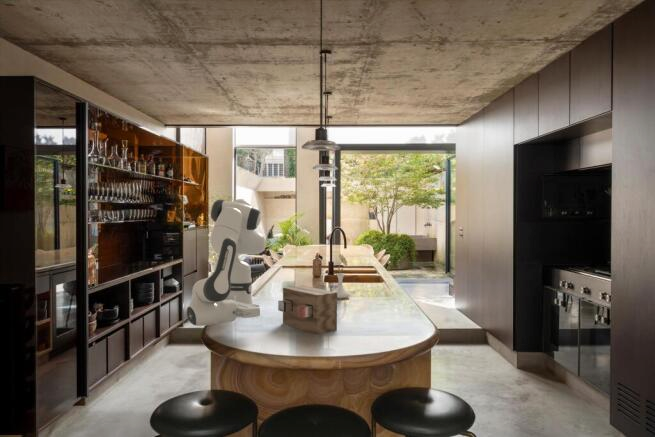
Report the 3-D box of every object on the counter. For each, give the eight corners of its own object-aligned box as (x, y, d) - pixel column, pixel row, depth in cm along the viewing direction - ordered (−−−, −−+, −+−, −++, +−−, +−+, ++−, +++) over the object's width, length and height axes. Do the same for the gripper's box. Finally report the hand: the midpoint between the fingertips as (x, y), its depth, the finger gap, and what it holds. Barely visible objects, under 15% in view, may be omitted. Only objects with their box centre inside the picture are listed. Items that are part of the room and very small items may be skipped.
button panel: (316, 334, 207) (316, 295, 206) (282, 323, 225) (283, 287, 225) (336, 330, 214) (337, 292, 213) (302, 320, 232) (302, 285, 232)
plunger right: (303, 317, 206) (303, 307, 206) (297, 315, 209) (297, 305, 209) (318, 315, 211) (318, 305, 211) (312, 313, 214) (312, 303, 214)
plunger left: (283, 312, 217) (283, 302, 217) (278, 310, 220) (278, 300, 220) (298, 309, 222) (298, 300, 222) (293, 308, 225) (293, 298, 225)
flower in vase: (350, 300, 283) (351, 255, 282) (330, 299, 283) (330, 255, 282) (349, 295, 296) (350, 253, 295) (330, 295, 296) (330, 253, 296)
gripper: (241, 306, 193) (271, 302, 202) (215, 299, 209) (244, 295, 218) (241, 323, 193) (271, 318, 202) (215, 314, 209) (244, 310, 218)
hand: (257, 306), depth 210 cm, fingers closed
